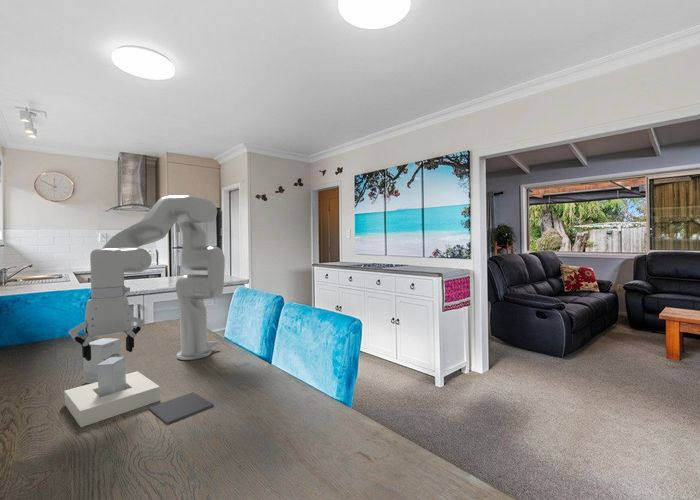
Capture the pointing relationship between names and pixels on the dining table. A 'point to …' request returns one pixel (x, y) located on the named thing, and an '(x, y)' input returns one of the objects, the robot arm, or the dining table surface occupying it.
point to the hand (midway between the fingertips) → (109, 355)
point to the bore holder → (110, 399)
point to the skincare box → (111, 376)
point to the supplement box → (100, 356)
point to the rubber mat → (180, 407)
